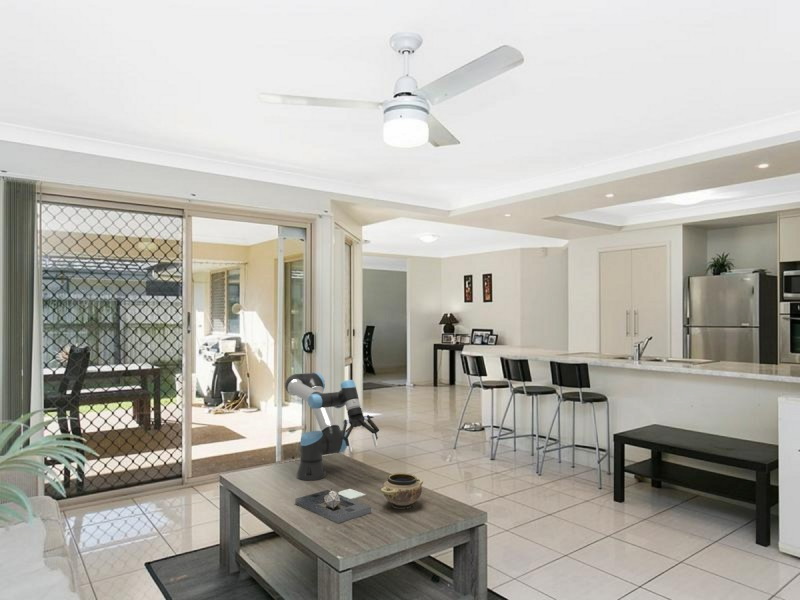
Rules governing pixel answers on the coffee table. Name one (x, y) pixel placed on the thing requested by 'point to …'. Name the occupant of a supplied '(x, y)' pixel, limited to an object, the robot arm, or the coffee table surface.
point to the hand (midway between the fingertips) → (364, 449)
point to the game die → (332, 499)
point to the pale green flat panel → (351, 494)
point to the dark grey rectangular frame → (337, 516)
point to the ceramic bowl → (402, 489)
